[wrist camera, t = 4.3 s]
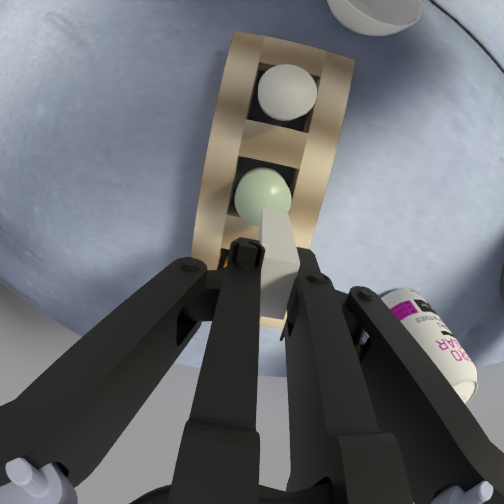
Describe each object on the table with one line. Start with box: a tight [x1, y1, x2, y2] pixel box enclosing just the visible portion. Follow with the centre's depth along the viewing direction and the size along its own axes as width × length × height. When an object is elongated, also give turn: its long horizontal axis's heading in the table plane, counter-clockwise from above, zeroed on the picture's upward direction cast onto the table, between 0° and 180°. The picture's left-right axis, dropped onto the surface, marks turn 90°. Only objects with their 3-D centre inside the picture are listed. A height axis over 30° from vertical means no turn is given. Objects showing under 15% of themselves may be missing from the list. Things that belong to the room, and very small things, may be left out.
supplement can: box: [366, 288, 478, 405], centre depth 24 cm, size 8×8×15 cm
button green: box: [235, 167, 291, 227], centre depth 21 cm, size 4×4×4 cm
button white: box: [258, 64, 317, 121], centre depth 18 cm, size 4×4×4 cm
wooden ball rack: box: [191, 31, 356, 329], centre depth 24 cm, size 26×10×3 cm, turn 168°
